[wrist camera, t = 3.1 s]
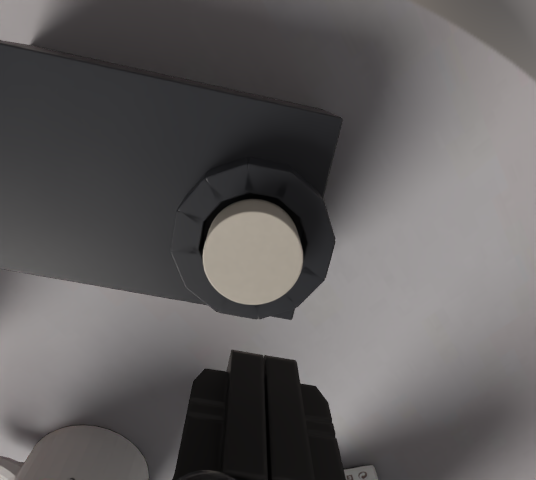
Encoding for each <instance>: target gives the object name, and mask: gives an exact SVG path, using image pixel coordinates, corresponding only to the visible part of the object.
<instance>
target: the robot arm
mask: <svg viewBox="0 0 536 480" xmlns="http://www.w3.org/2000/svg"><path fill="white" fill-rule="evenodd" d="M172 480H346V478H345V473H344V469H343V465H342V460H341V456H340V452H339V448H338V443H337V439H336V438H335V430H334V426H333V423H332V417H331V413H330V409H329V405H328V402H327V400H326V399H325V398H324V397H323V395H322V394H321V393H320V391H319V390H318V389H317V387H316V386H312V385H306V384H300V380H299V374H298V367H297V362H296V360H291V359H285V358H279V357H273V356H267V355H265V356H264V358H263V355H260V354H254V353H248V352H242V351H236V350H232V351H231V354H230V358H229V362H228V367H227V372H225V371H218V370H212V369H206V368H205V369H204V370H203V371H202V372H201V373H200V374H199V375H198V376H197V378H196V379H195V380H194V381H193V384H192V389H191V394H190V399H189V404H188V409H187V414H186V419H185V424H184V429H183V434H182V439H181V444H180V449H179V454H178V459H177V464H176V469H175V473H174V477H173V479H172Z"/></svg>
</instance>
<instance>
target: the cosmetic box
mask: <svg viewBox="0 0 536 480" xmlns="http://www.w3.org/2000/svg"><path fill="white" fill-rule="evenodd" d="M344 473H345V478H346V480H378V477H377V473H376V471H375V468H374V466H372V465H369V466H361V467H357V468H351V469H344Z"/></svg>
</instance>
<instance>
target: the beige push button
mask: <svg viewBox="0 0 536 480" xmlns="http://www.w3.org/2000/svg"><path fill="white" fill-rule="evenodd" d="M302 266H303V249H302V245H301V242H300V238H299V235H298V231H297V228H296V226H295V224H294V222H293V220H292V219H291V217H290V216H289V215H288V214H287V213H286V212H285V211H284V210H283V209H282V208H281V207H279V206H277V205H276V204H274V203H271V202H269V201H266V200H261V199H245V200H240V201H237V202H234V203H232V204H230V205H228V206H227V207H225V208H224V209H223V210H222V211H221V212H220V213H219V214H218V215H217V216H216V217H215V218H214V220H213V222H212V224H211V226H210V228H209V231H208V235H207V238H206V241H205V245H204V249H203V267H204V271H205V274H206V276H207V278H208V280H209V281H210V283H211V285H212V286H213V287H214V288H215V289H216V290H217V291H218V292H219V293H220V294H222V295H223V296H224V297H226V298H228V299H230V300H232V301H235V302H237V303H241V304H248V305H258V304H264V303H268V302H271V301H274V300H276V299H278V298H280V297H281V296H283V295H284V294H286V293H287V292H288V291H289V290H290V289H291V288H292V287H293V285H294V284H295V283H296V281H297V280H298V277H299V275H300V273H301V270H302Z"/></svg>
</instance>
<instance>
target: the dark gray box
mask: <svg viewBox="0 0 536 480" xmlns="http://www.w3.org/2000/svg"><path fill="white" fill-rule="evenodd" d="M342 121H343V118H341V117H339V116H337V115H334V114H332V113H330V112H327V111H325V110H322V109H318V108H314V107H309V106H304V105H300V104H295V103H291V102H286V101H282V100H277V99H273V98H268V97H264V96H259V95H254V94H250V93H245V92H241V91H236V90H232V89H227V88H223V87H218V86H214V85H209V84H204V83H200V82H195V81H191V80H186V79H182V78H177V77H173V76H168V75H163V74H159V73H154V72H150V71H145V70H141V69H136V68H132V67H127V66H123V65H118V64H113V63H109V62H104V61H100V60H95V59H91V58H86V57H82V56H77V55H73V54H68V53H63V52H59V51H54V50H50V49H45V48H41V47H36V46H32V45H26V44H20V43H14V42H7V41H1V40H0V269H4V270H10V271H15V272H21V273H27V274H32V275H38V276H44V277H50V278H55V279H61V280H67V281H72V282H78V283H84V284H89V285H95V286H101V287H107V288H112V289H118V290H124V291H129V292H135V293H141V294H146V295H152V296H158V297H163V298H169V299H175V300H181V301H186V302H192V303H198V304H203V305H208V306H210V307H211V308H212V309H214V310H215V311H216V312H219V313H223V314H229V315H234V316H240V317H246V318H252V319H262V318H265V317H269V316H272V317H277V318H283V319H289V320H292V318H293V314H294V310H295V308H296V307H298V306H299V305H300V304H301V303H302V302H303V301H304V300H305V299H306V298H307V297H308V296H309V295H310V294H311V293H312V292H313V291H314V290H315V289H316V288H317V287H318V286H319V285H320V284H321V283H322V282H323V281H324V280H325V278H326V275H327V271H328V268H329V264H330V260H331V256H332V253H333V249H334V245H335V236H334V233H333V229H332V226H331V222H330V219H329V216H328V212H327V209H326V206H325V203H324V201H323V196H324V192H325V188H326V184H327V180H328V176H329V172H330V168H331V164H332V160H333V157H334V153H335V149H336V145H337V141H338V137H339V133H340V129H341V125H342ZM245 199H261V200H266V201H269V202H271V203H274V204H276V205H277V206H279V207H281V208H282V209H283V210H284V211H285V212H286V213H287V214H288V215H289V216H290V217H291V219H292V220H293V222H294V224H295V226H296V228H297V231H298V235H299V238H300V242H301V245H302V249H303V266H302V270H301V273H300V275H299V277H298V280H297V281H296V283H295V284H294V285H293V287H292V288H291V289H290V290H289V291H288V292H287V293H286V294H284V295H283V296H281V297H280V298H278V299H276V300H274V301H271V302H268V303H264V304H258V305H248V304H241V303H237V302H235V301H232V300H230V299H228V298H226V297H224V296H223V295H222V294H220V293H219V292H218V291H217V290H216V289H215V288H214V287H213V286H212V285H211V283H210V281H209V280H208V278H207V276H206V274H205V271H204V267H203V249H204V245H205V241H206V238H207V235H208V231H209V228H210V226H211V224H212V222H213V220H214V218H215V217H216V216H217V215H218V214H219V213H220V212H221V211H222V210H223V209H224V208H225V207H227V206H228V205H230V204H232V203H234V202H237V201H240V200H245Z"/></svg>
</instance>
